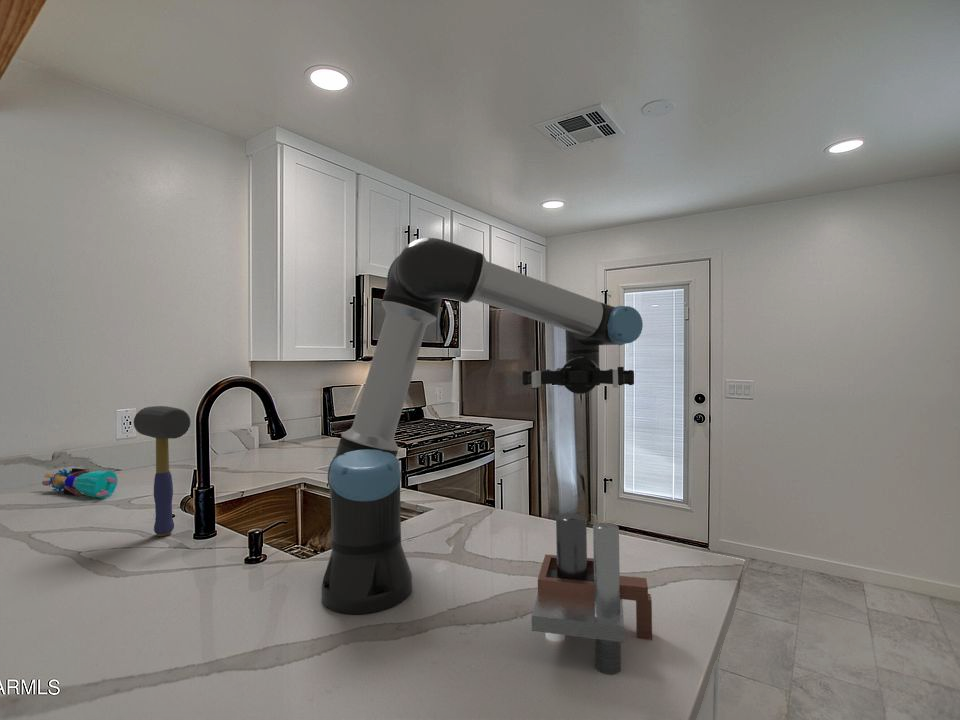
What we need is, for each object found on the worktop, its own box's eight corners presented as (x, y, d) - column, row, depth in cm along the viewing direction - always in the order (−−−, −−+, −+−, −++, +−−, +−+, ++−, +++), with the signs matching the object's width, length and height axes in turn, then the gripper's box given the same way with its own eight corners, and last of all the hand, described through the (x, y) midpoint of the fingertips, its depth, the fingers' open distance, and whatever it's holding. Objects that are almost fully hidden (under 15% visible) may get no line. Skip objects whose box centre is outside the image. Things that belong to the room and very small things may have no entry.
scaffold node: (532, 665, 63) (530, 526, 63) (546, 607, 78) (544, 494, 78) (659, 683, 59) (656, 535, 59) (648, 619, 74) (647, 500, 74)
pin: (556, 632, 71) (554, 522, 71) (559, 616, 75) (557, 512, 75) (587, 636, 70) (585, 524, 69) (588, 619, 74) (586, 514, 74)
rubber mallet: (132, 535, 113) (129, 406, 113) (166, 525, 120) (164, 403, 120) (161, 544, 107) (159, 408, 107) (195, 533, 114) (193, 405, 114)
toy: (96, 499, 141) (27, 491, 150) (123, 500, 148) (56, 492, 158) (104, 470, 143) (36, 464, 152) (131, 472, 151) (64, 467, 160)
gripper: (642, 392, 100) (652, 402, 79) (522, 392, 106) (502, 401, 86) (642, 356, 100) (651, 356, 79) (521, 358, 106) (501, 358, 86)
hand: (573, 379), depth 82 cm, fingers open, 13 cm apart
